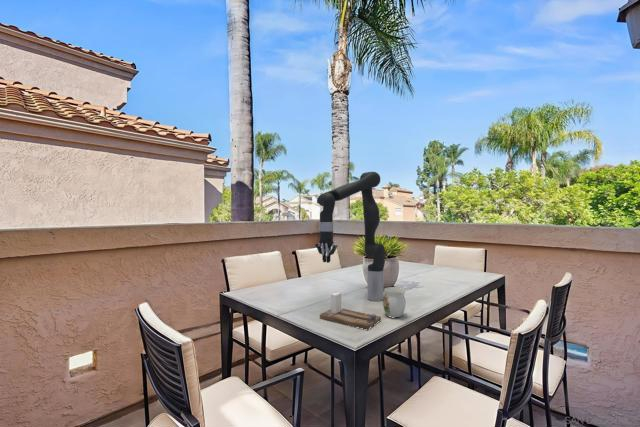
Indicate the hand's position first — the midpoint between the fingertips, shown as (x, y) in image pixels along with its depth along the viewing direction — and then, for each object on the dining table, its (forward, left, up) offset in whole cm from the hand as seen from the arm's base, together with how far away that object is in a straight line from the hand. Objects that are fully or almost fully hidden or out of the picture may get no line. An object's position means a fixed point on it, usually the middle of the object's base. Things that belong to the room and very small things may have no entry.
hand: (326, 262), depth 168 cm
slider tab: (+8, +11, -23) cm, 26 cm away
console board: (+8, +19, -25) cm, 32 cm away
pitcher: (-10, +34, -25) cm, 44 cm away
